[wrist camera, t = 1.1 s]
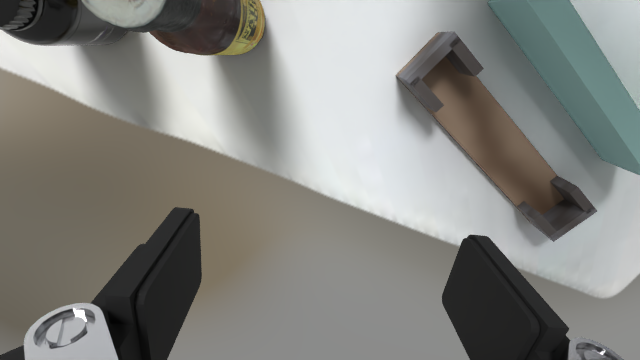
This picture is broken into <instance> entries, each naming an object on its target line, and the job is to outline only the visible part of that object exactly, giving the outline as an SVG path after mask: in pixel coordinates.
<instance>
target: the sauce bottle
mask: <svg viewBox="0 0 640 360" xmlns="http://www.w3.org/2000/svg"><path fill="white" fill-rule="evenodd" d="M82 2H83V3H84V5H85V6H86V7H87V8H88V9H89V10H90V11H91V12H92V13H93V14H94V15H95V16H97V17H98V18H99V19H101V20H103V21H105V22H107V23H109V24H111V25H113V26H116V27H120V28H124V29H127V30H131V31H135V32H143V33H145V32H150V34H151V35H153V36H154V37H155V38H156V39H157V40H158V41H160V42H161V43H163V44H164V45H166V46H168V47H169V48H171V49H173V50H176V51H180V52H184V53H191V54H196V55H239V54H243V53H246V52H248V51H250V50H251V49H253V48H254V47H255V46H256V45H257V44H258V42H259V41H260V39H261V38H262V37H263V33H264V28H265V16H264V10H263V7H262V4H261V2H260V0H82Z"/></svg>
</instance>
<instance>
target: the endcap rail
mask: <svg viewBox="0 0 640 360" xmlns="http://www.w3.org/2000/svg"><path fill="white" fill-rule="evenodd" d="M482 69H484V68H483V67H482V66H481V65H480V63H479V62H478V61H477V60H476V58H475V57H474V56H473V54H472V53H471V52H470V51H469V49H468V48H467V47H466V46H465V44H464V43H463V42H462V41H461V39H460V38H459V37H458V36H457V34H456V33H455V32H440V33H437V34H436V35H435V36H434V37H433V38H432V39H431V40H430V41H429V42H428V43H427V44H426V45H425V46H424V47H423V48H422V49H421V50H420V51H419V52H418V53H417V54H416V55H415V56H414V57H413V58H412V59H411V60H410V61H409V62H408V63H407V64H406V65H405V66H404V67H403V69H402V70H401V71H400V72H399V73H398V74H397V75H396V76H397V77H398V79H399V80H400V81H401V82H402V83H403V84H404V85H405V86H406V87H407V88H408V89H409V91H410V92H411V93H412V94H413V95H414V96H415V97H416V98H417V99H418V100H419V101H420V102H421V104H422V105H423V106H424V107H425V108H426V109H427V110H428V111H429V112H430V113H431V114H432V116H433V117H434V118H435V119H436V120H437V121H438V122H439V123H440V124H441V125H442V126H443V128H444V129H445V130H446V131H447V132H448V133H449V134H450V135H451V136H452V137H453V138H454V139H455V141H456V142H457V143H458V144H459V145H460V146H461V147H462V148H463V149H464V150H465V151H466V153H467V154H468V155H469V156H470V157H471V158H472V159H473V160H474V161H475V162H476V163H477V165H478V166H479V167H480V168H481V169H482V170H483V171H484V172H485V173H486V174H487V175H488V176H489V178H490V179H491V180H492V181H493V182H494V183H495V184H496V185H497V186H498V187H499V188H500V190H501V191H502V192H503V193H504V194H505V195H506V196H507V197H508V198H509V199H510V200H511V202H512V203H513V204H514V205H515V206H516V207H517V208H518V209H519V210H520V211H521V212H522V213H523V215H524V216H525V217H526V218H527V219H528V220H529V221H530V222H531V223H532V224H533V225H534V226H535V227H536V228H538V229H539V230H540V231H541V232H542V233H544V234H545V235H546V236H547V237H548V238H550V239H551V240H552V241H553V242H554V241H555V240H557V239H558V238H560V237H561V236H562V235H564V234H565V233H567V232H568V231H570V230H571V229H572V228H574V227H575V226H577V225H578V224H580V223H581V222H583V221H584V220H585V219H587V218H588V217H590V216H591V215H593V214H594V213H595V212H597V210H596V209H595V208H594V206H593V205H592V204H591V203H590V201H589V200H588V199H587V198H586V196H585V195H584V194H583V193H582V191H581V190H580V189H579V188H578V187H577V186H575V185H573V184H572V183H570V182H568V181H566V180H564V179H563V178H561V177H559V176H557V175H556V173H555V172H554V171H553V170H552V169H551V167H550V166H549V165H548V164H547V162H546V161H545V160H544V159H543V157H542V156H541V155H540V154H539V153H538V151H537V150H536V149H535V148H534V146H533V145H532V144H531V143H530V142H529V140H528V139H527V138H526V137H525V135H524V134H523V133H522V132H521V130H520V129H519V128H518V127H517V126H516V124H515V123H514V122H513V121H512V119H511V118H510V117H509V116H508V114H507V113H506V112H505V111H504V110H503V108H502V107H501V106H500V105H499V103H498V102H497V101H496V100H495V99H494V97H493V96H492V95H491V94H490V92H489V91H488V90H487V89H486V87H485V86H484V85H483V84H482V83H481V81H480V80H479V79H478V78H477V76H476V75H477V74H478V73H479V72H480V71H481V70H482Z"/></svg>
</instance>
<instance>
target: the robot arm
mask: <svg viewBox="0 0 640 360" xmlns="http://www.w3.org/2000/svg"><path fill="white" fill-rule="evenodd" d="M200 247H201V246H200V220H199V215H198V214H197V213H194V210H193V209H189V208H177V207H175V208H174V209H173V210H172V211H171V212H170V214H169V215H168V216H167V217H166V219H165V220H164V221H163V222H162V224H161V225H160V226H159V227H158V229H157V230H156V231H155V232H154V234H153V235H152V236H151V237H150V239H149V240H148V241H147V242H146V244H141V245H139V246H138V247H137V248H136V249H135V250H134V251H133V253H132V254H131V255H130V256H129V257H128V259H127V260H126V261H125V262H124V263H123V265H122V266H121V267H120V268H119V270H118V271H117V272H116V273H115V274H114V276H113V277H112V278H111V280H110V281H109V282H108V283H107V284H106V285H105V286H104V288H103V289H102V290H101V291H100V293H99V294H98V295H97V296H96V297H95V299H94V300H93V301H92V302H91V303H90V304H88V303H77V304H71V305H67V306H63V307H60V308H58V309H56V310H54V311H51V312H49V313H48V314H46V315H45V316H43V317H41V318H40V319H39V320H38V321H36V322H35V323H34V324H33V325H32V326H31V327H30V329H29V330H28V332H27V333H26V335H25V339H24V345H23V346H21V347H18V348H16V349H14V350H11V351H9V352H7V353H5V354H2V355H0V360H167V358H168V356H169V354H170V351H171V349H172V347H173V345H174V343H175V340H176V338H177V336H178V333H179V331H180V329H181V327H182V325H183V322H184V320H185V317H186V316H187V313H188V311H189V309H190V306H191V304H192V302H193V300H194V298H195V295H196V293H197V291H198V289H199V286H200V283H201V276H202V273H201V248H200ZM442 302H443V306H444V308H445V310H446V312H447V314H448V316H449V318H450V320H451V322H452V324H453V326H454V328H455V330H456V332H457V334H458V336H459V338H460V340H461V342H462V344H463V346H464V348H465V350H466V352H467V354H468V356H469V358H470V360H624V359H622V358H621V357H620V356H619V355H618V354H616V353H615V352H614V351H612V350H610V349H609V348H607V347H605V346H604V345H602V344H600V343H598V342H595V341H593V340H590V339H586V338H574V339H572V340H569V339H568V338H567V337H566V333H567V332H568V330H569V328H568V327H567V326H566V324H565V323H564V322H563V321H562V320H561V319H560V318H559V316H558V315H557V314H556V313H555V312H554V311H553V310H552V309H551V308H550V306H549V305H548V304H547V303H546V302H545V301H544V299H543V298H542V297H541V296H540V295H539V294H538V293H537V292H536V290H535V289H534V288H533V287H532V286H531V285H530V284H529V282H528V281H527V280H526V279H525V278H524V277H523V276H522V275H521V273H520V272H519V271H518V270H517V269H516V268H515V267H514V265H513V264H512V263H511V262H510V261H509V260H508V259H507V258H506V256H505V255H504V254H503V253H502V252H501V251H500V250H499V248H498V247H497V246H496V245H495V244H494V243H493V242H492V241H491V239H490V238H489V237H487V236H479V235H469V236H468V237H467V238H465V239H463V241H462V243H461V246H460V248H459V251H458V254H457V256H456V259H455V262H454V265H453V268H452V270H451V273H450V275H449V278H448V281H447V284H446V286H445V289H444V292H443V295H442Z"/></svg>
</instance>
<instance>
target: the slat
mask: <svg viewBox="0 0 640 360" xmlns="http://www.w3.org/2000/svg"><path fill="white" fill-rule="evenodd" d="M488 5H489V6H490V7H491V9H492V10H493V12H494V13H495V14H496V16H497V17H498V18H499V20H500V21H501V22H502V24H503V25H504V27H505V28H506V29H507V31H508V32H509V33H510V35H511V36H512V37H513V39H514V40H515V42H516V43H517V44H518V46H519V47H520V48H521V50H522V51H523V52H524V54H525V55H526V57H527V58H528V59H529V61H530V62H531V63H532V65H533V66H534V67H535V69H536V70H537V72H538V73H539V74H540V76H541V77H542V78H543V80H544V81H545V82H546V84H547V85H548V87H549V88H550V89H551V91H552V92H553V93H554V95H555V96H556V97H557V99H558V100H559V102H560V103H561V104H562V106H563V107H564V108H565V110H566V111H567V112H568V114H569V115H570V117H571V118H572V119H573V121H574V122H575V123H576V125H577V126H578V127H579V129H580V130H581V132H582V133H583V134H584V136H585V137H586V138H587V140H588V141H589V142H590V144H591V145H592V147H593V148H594V149H595V151H596V152H597V153H598V155H599V156H600V157H601V159H602V160H604V161H606V162H609V163H611V164H613V165H616V166H618V167H621V168H623V169H626V170H628V171H630V172H633V173H635V174H638V175H640V111H639V109H638V108H637V106H636V105H635V103H634V101H633V100H632V98H631V97H630V95H629V93H628V92H627V90H626V89H625V87H624V86H623V84H622V82H621V81H620V79H619V78H618V76H617V75H616V73H615V71H614V70H613V68H612V67H611V65H610V63H609V62H608V60H607V59H606V57H605V56H604V54H603V52H602V51H601V49H600V48H599V46H598V45H597V43H596V41H595V40H594V38H593V37H592V35H591V34H590V32H589V30H588V29H587V27H586V26H585V24H584V22H583V21H582V19H581V18H580V16H579V15H578V13H577V11H576V10H575V8H574V7H573V5H572V4H571V2H570V0H490V1H489V2H488Z"/></svg>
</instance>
